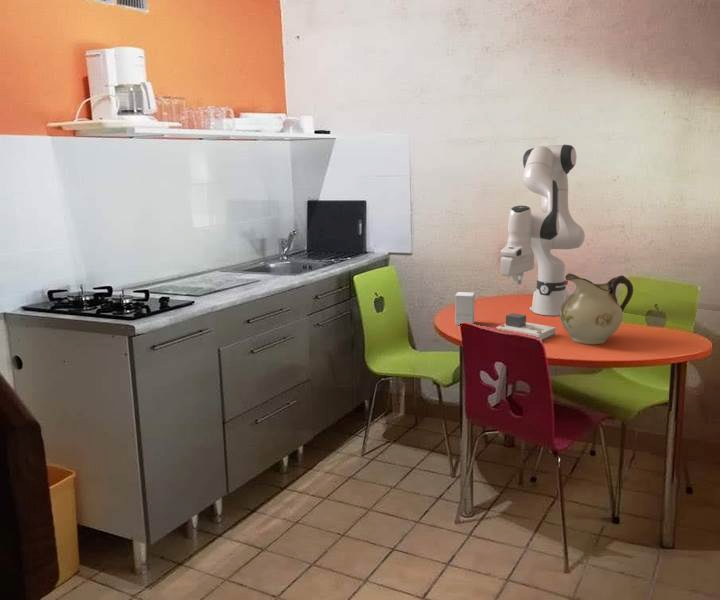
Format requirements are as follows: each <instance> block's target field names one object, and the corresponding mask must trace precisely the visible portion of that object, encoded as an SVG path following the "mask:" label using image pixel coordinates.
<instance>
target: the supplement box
mask: <svg viewBox="0 0 720 600" xmlns="http://www.w3.org/2000/svg"><path fill="white" fill-rule="evenodd" d="M475 295H476V293H475V292H469V291H466V292H465V291H457V292H456V294H455V295H454V299H455V300H454V301H455V302H454V303H455V305H454V309H455V311H454V313H455V314H454V325H455V326H461V325H460V323H462V322H468V323H473V324H474V323H475V306H476V305H475V303H476V302H475Z"/></svg>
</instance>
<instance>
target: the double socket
mask: <svg viewBox="0 0 720 600" xmlns="http://www.w3.org/2000/svg"><path fill="white" fill-rule="evenodd" d="M496 328H497V329H502V330H508V331H514V332H519V333H524V334H528V335H533V336H536V337H539V338H541V339H542V340H543V341H545V340H547V339H550V338H551V337H554V336H556V330H557V329H556V327H555V326H549V325H543V324H539V323H534V322H532V323H531V322H527V321H526V325H525V326H523V327H520V328H517V327H512V326H506V323H504V324H501V325H498V326H496Z"/></svg>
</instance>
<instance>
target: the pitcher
mask: <svg viewBox="0 0 720 600" xmlns="http://www.w3.org/2000/svg"><path fill="white" fill-rule="evenodd" d="M564 280H568V282H572V283H574V284H575V287H576V288H575V290H574V292H573V293H572V294H570V295H571V296H569V297H568V298H567V299H566V300H565V301H564V303H563V304H562V306H561V308H560V315H559V320H560V322H561V325H562V327H563V328H564V330H565V332H567V333H568V335H570V336H571V340H572V342H575V343H579V344H582V345H601V344H605V343H606V342H607V339H609V338H610V337H612V336H613V334H615V333H616V332H617V330H619V328H620V326H621V325H622V322H623V316H624V314H623V313H624V310H625V309H626V307H627V305H628V304H629V302H630V301H631V298H632V297H633V293H634V286H633V283H632V282H631V280H630V279H628V278H627V277H626V276H624V275H618V276H616V277H613V278H610V279H609V280H608V281H607V282H606V283H601V284H599V283H598V284H597V283H593V281H590V280H589V279H586V278H582V277H579V276H578V275H576V274H573V273H569V272H568V273H566V275H565V276H564ZM620 284H621V285H624V286H625V287H626V289H627V290H626V295H625V297H624V299H623V301H622V303H621V304H619V303H618V299H617V295H616V293H617V291H616V290H617V287H618V286H619V285H620Z"/></svg>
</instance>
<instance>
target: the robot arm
mask: <svg viewBox="0 0 720 600" xmlns="http://www.w3.org/2000/svg"><path fill="white" fill-rule="evenodd" d="M522 156H523V157H522V161H523V162H522V163H523V168H524V169H523V174H522V181H523V185H524V186H525V187H526V188H527V189H528V190H529V191H530V192H532V193H534V194H537V195H540V197H541V199H540V201H541V202H540V207H541V211H542V212H543V213H536V212H535V213H533V212H532V210H531V207H530V206H527V205H516V206H513V207H511V208H510V211H509V214H508V215H509V216H508V221H507V232H508V238H507V244H506V245H505V246H504V247H503V248H502V249H501V250H500V256H501V258H500V274H501V276H503V277H509V278H510V277H511V278H512V280H513V285H514V286H518V285H521V284H522V280H523V277H524V273H525V272H528V271H529V272H530V271H532V270H534V268H535V258H536V262H537V280H536V290H535V291H533V297H532V305H531V306H529V310H530V311H531V312H532V313H533V314H537V315H543V316H550V317H551V316H554V317H555V316H560V308H561V306H562V304H563V303H564V301H565V300H566V299H567V298H568V297H569V296H571V295H572V294H570V293H569V291H568V290H567V286H568V284H569V281H568V280H566V279H565V270H566V269H565V268H566V265H565V262H564V260H562V259H560V258H559V257H557V256H555V255H553V254H552V252H551V250H573V249H578V248H580V247H581V246H582V245H583V243H584V242H585V239H586V238H585V235H586V234H585V231H584V229H583V228H582V226H581V225H579V224H578V223H577V222H575V220H574V219H573V217H572V216H571V214H570V209H569V178H568V174H569V173H570V171H571V170H573V169H574V167H575V165H576V164H577V152H576V149H575V147H574V146H573V145H570V144H559V145H558V144H551V145H547V146H544V145H543V146H542V145H539V146H536V147H533V148H529V149H527V150H526V151H525V152H524V153H523V155H522Z"/></svg>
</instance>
